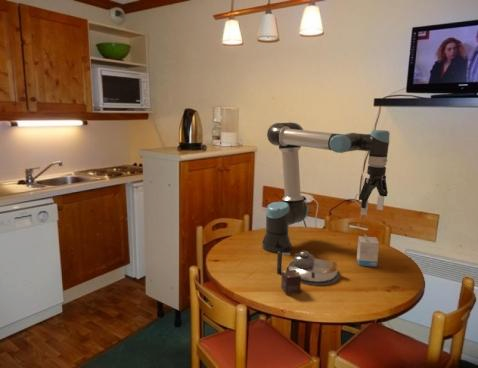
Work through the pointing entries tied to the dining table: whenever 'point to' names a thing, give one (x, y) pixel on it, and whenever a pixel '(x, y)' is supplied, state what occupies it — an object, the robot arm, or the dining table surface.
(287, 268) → the plinth
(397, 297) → the dining table surface
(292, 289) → the box
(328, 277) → the turntable
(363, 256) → the ink box
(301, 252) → the cover
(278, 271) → the indicator post
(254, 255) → the dining table surface
